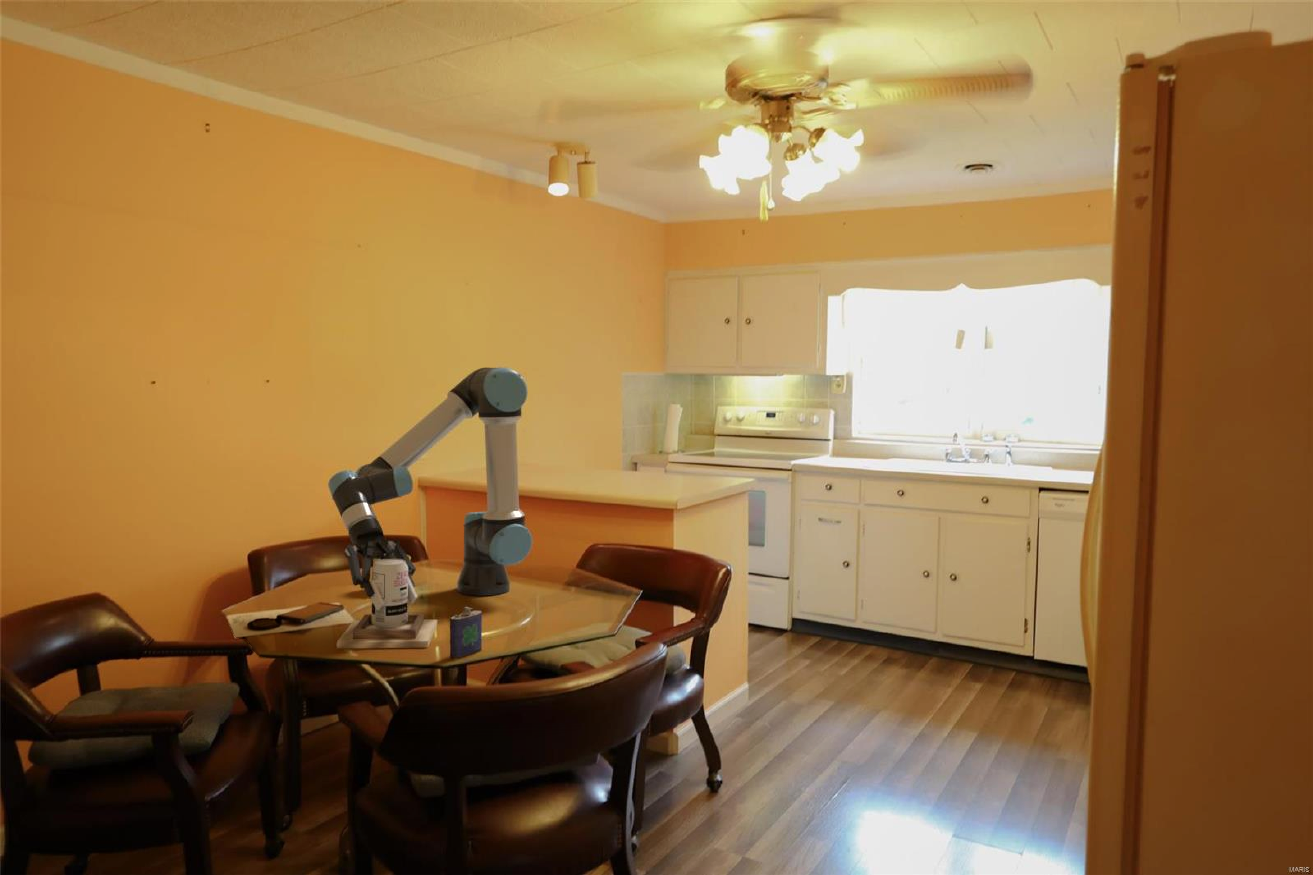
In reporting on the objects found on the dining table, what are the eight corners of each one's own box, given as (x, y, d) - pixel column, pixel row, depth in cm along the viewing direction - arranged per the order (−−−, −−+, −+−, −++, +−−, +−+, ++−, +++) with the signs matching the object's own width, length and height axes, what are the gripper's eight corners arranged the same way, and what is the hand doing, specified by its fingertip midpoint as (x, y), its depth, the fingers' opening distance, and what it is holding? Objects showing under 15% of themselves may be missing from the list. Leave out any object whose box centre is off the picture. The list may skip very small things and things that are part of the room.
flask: (476, 647, 200) (476, 601, 199) (485, 650, 198) (486, 603, 197) (446, 658, 192) (447, 610, 191) (456, 660, 190) (457, 612, 189)
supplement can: (375, 619, 210) (376, 558, 209) (410, 619, 211) (411, 558, 210) (367, 629, 202) (368, 565, 201) (404, 629, 202) (404, 565, 201)
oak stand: (437, 625, 216) (437, 611, 216) (427, 647, 199) (428, 632, 198) (353, 626, 214) (353, 612, 214) (336, 648, 196) (336, 633, 196)
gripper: (395, 530, 223) (429, 604, 213) (316, 540, 207) (349, 620, 198) (406, 512, 219) (442, 587, 209) (327, 521, 204) (362, 602, 194)
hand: (397, 603), depth 204 cm, fingers closed on supplement can, 8 cm apart
